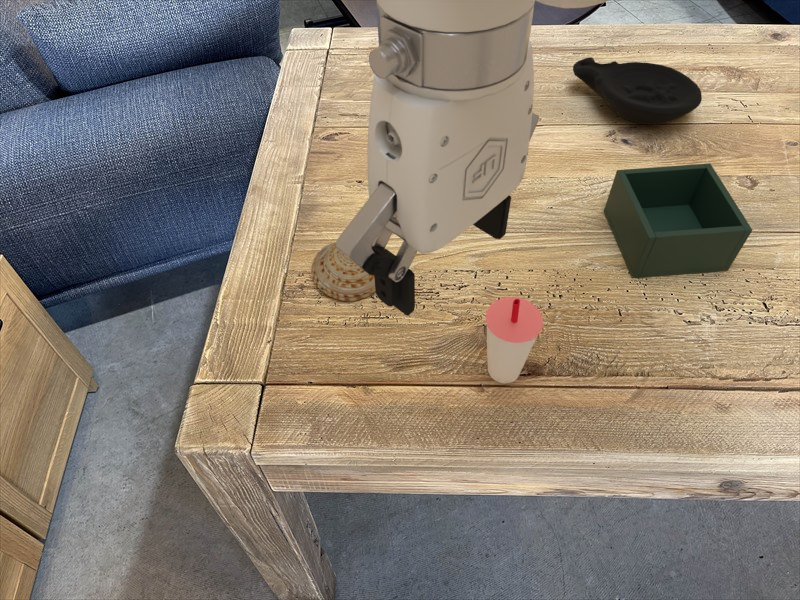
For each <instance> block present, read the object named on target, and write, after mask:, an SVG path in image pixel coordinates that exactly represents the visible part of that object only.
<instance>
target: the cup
mask: <svg viewBox="0 0 800 600" xmlns="http://www.w3.org/2000/svg"><path fill="white" fill-rule="evenodd" d="M485 323H486V361H487V373H488V375H489V377H490V378H491V379H492V380H493V381H495V382H496V383H500V384H511V383H514V382H515V381H516V380H518V379H519V377H520V374H521V373H522V370H523V368H524V366H525V364H526V363H527V360H528V358H529V355H530V353H531V350H532V349H533V346H534V345H535V342H536V340H537V338H538V336H539V334H540V333H541V331H542V329H543V326H544V318H543V315H542V312H541V311H540V310H539V308H538V307H537V306H536V305H535V304H533V303H532V302H531V301H528V300H527V299H524V298H520V297H515V296H507V297H502V298H499V299H497V300H496V301H494V302H492V303H491V304H490V305H489V306H488V308H487V310H486V312H485Z"/></svg>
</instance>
